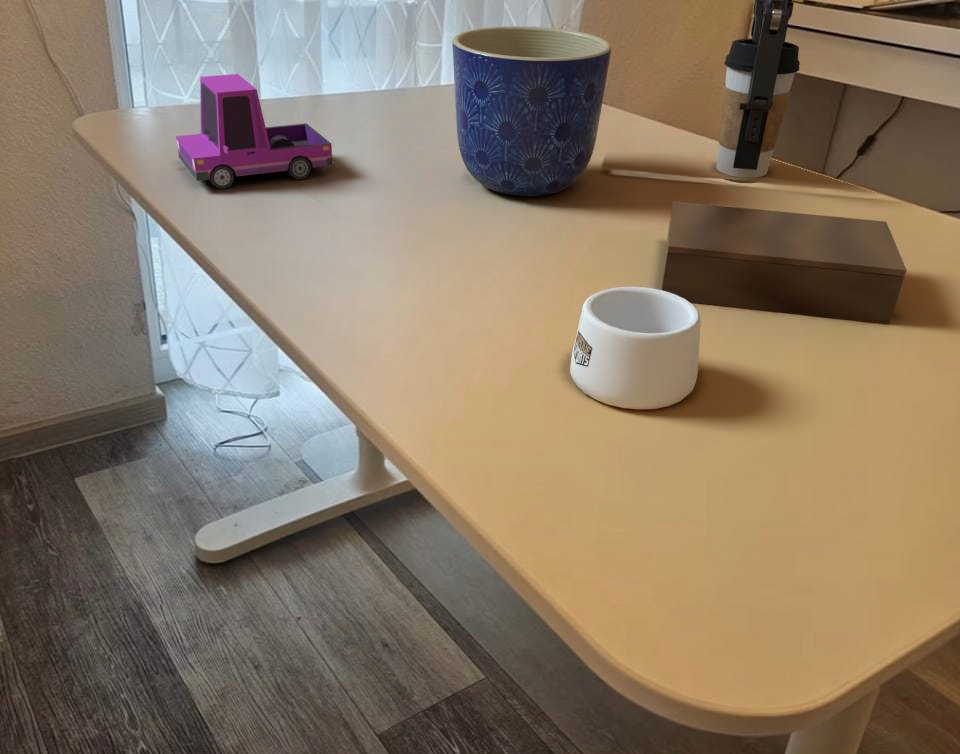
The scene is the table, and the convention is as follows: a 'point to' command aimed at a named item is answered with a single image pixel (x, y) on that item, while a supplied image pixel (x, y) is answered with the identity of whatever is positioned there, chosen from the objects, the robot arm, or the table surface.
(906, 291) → the table surface
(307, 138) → the toy truck
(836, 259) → the dark wooden box
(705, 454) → the table surface
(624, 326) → the mug
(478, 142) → the planter
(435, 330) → the table surface
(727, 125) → the coffee cup
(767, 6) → the robot arm
